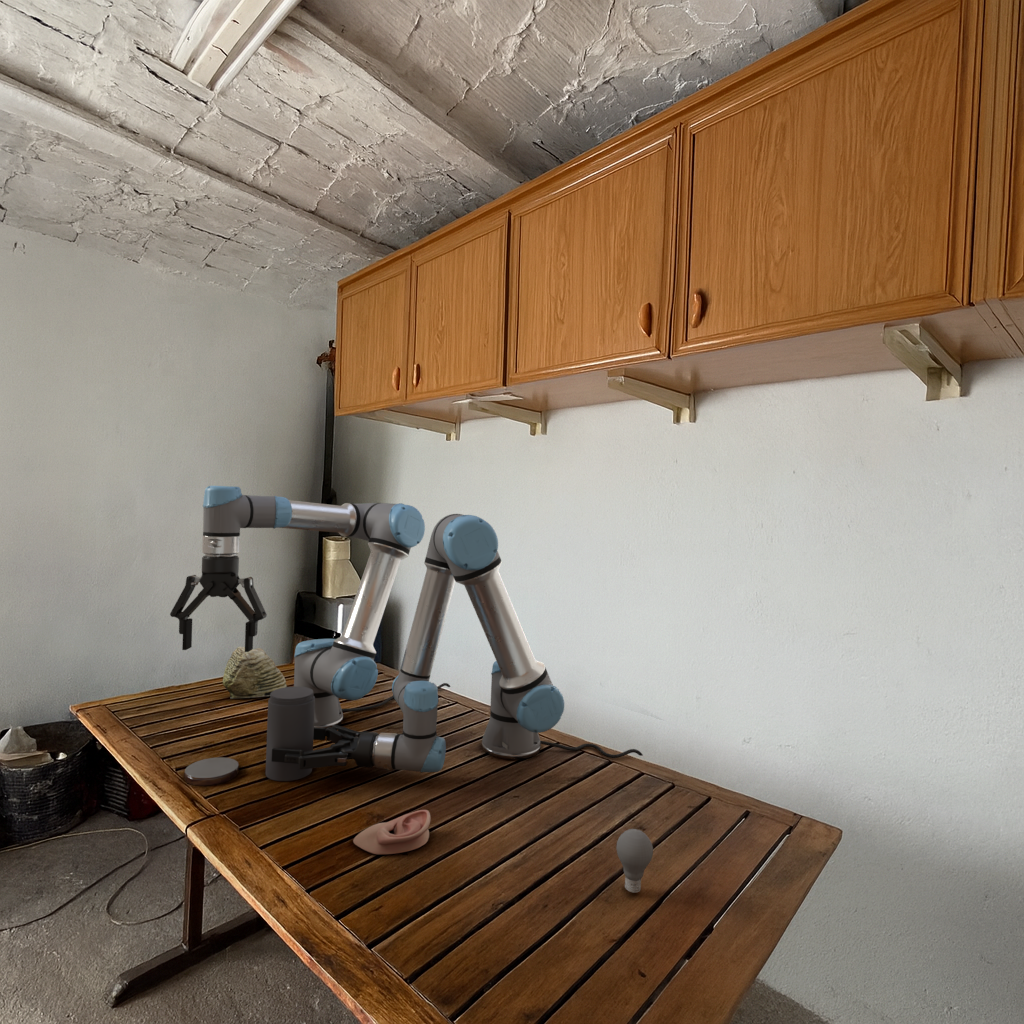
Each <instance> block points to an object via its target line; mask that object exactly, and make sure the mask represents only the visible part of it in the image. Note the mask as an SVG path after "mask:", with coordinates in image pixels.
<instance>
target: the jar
mask: <svg viewBox="0 0 1024 1024" xmlns="http://www.w3.org/2000/svg"><path fill="white" fill-rule="evenodd" d="M314 710H315V696H314V693H313V690H312V689H310V688H306V687H294V686H287V687H284V688H279V689H276V690H274V691H272V692H271V693H270V696H269V698H268V700H267V723H266V724H267V725H266V746H265V747H266V748H265V749H266V751H265V776H266V778H267V779H269V780H272V781H276V782H292V781H296V780H301V779H303V778H306V777H307V776H310V774H311V773H313V768H310V769H299V764H296V763H284V762H272V749H273V748H282V749H294V750H301V749H302V750H303V751H304V752H307V751H312V750H314V740H313V736H314ZM305 761H306V760H305Z"/></svg>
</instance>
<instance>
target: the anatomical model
mask: <svg viewBox="0 0 1024 1024" xmlns="http://www.w3.org/2000/svg"><path fill="white" fill-rule="evenodd" d="M430 824H431V813H430V811H429V810H428V809H420V810H419V809H418V810H416V811H412V812H409V813H405V814H403V815H401V816H398V817H396V818H394V819H391V820H389V821H385V822H378V823H375V824H373V825H370V826H369V827H367V828H365V829H364V830H362V831H360V832H359V833H358V834H357V835H355V837H354V838H353V839H352V842H353V844H354V845H355V846H356V847H358V848H360V849H362V850H363V851H365V852H368V853H369V854H374V855H378V856H379V855H393V854H400V853H402V854H403V853H406V852H410V851H413V850H417V849H419V848H421V847H422V846H424V845H426V844H427V842H428V841H429V838H430V830H429V827H430Z"/></svg>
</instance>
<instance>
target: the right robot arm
mask: <svg viewBox="0 0 1024 1024" xmlns="http://www.w3.org/2000/svg"><path fill="white" fill-rule="evenodd" d="M429 538H430V539H429V542H428V546H427V551H426V553H425V558H424V562H423V563H424V565H425V567H426V570H425V571H426V572H425V575H424V579H423V583H422V587H421V590H420V593H419V598H418V601H417V605H416V608H415V612H414V616H413V620H412V623H411V627H410V631H409V635H408V638H407V643H406V646H405V650H404V654H403V657H402V662H401V666H400V669H399V672H398V675H397V676H396V677H395V678H394V680H393V681H392V685H391V692H392V696H393V697H394V698H393V700H395V702H396V703H397V705H398V706H399V708H400V710H401V712H402V714H403V715H402V716H403V717H402V718H403V720H402V734H401V733H393V732H380V733H378V732H377V731H358V730H355V729H351V728H348V727H345V726H342V725H339V726H338V725H332V727H328V728H327V729H326V728H318V727H314V736H313V741H326V742H332V744H331V745H330V746H329V747H323V748H318V749H313V750H312V751H307V752H304V751H303V750H302V749H301V750H294V749H282V748H273V749H272V762H284V763H296V764H299V769H310V768H312V769H319V768H328V767H345V766H347V764H348V763H347V762H348V761H349V760H354V761H355V764H356V766H357V767H360V768H370V769H372V768H374V767H375V769H376V768H377V769H385V770H386V771H391V770H399V771H400V770H401V771H409V772H419V773H439V772H440V771H441V770H442V769H443V767H444V765H445V760H446V754H447V753H446V752H447V745H446V744H447V741H446V739H445V738H444V737H441V736H438V735H437V725H438V724H437V723H438V708H439V707H438V705H439V689H438V688H437V687H438V686H437V684H436V683H434V682H431V681H430V678H431V674H432V670H433V667H434V662H435V661H436V660H435V659H436V655H437V652H438V648H439V644H440V641H441V637H442V633H443V629H444V626H445V622H446V618H447V615H448V611H449V608H450V604H451V600H452V596H453V593H454V588H455V585H456V583H457V584H460V585H462V586H463V587H464V589H465V590H466V593H467V595H468V598H469V601H470V602H471V604H472V607H473V609H474V612H475V615H476V616H477V619H478V621H479V623H480V625H481V628H482V630H483V634H484V635H485V637H486V641H487V642H488V645H489V647H490V649H491V651H492V654H493V656H494V659H495V661H494V662H493V663H492V669H491V672H490V675H491V686H490V707H489V708H490V713H489V720H488V722H487V725H486V728H485V730H484V733H483V736H482V740H481V749H482V750H483V752H484V753H486V754H487V755H489V756H491V757H494V758H498V759H504V760H526V759H529V758H532V757H535V756H537V755H538V754H539V753H540V752H541V745H545V746H549V747H554V748H558V749H562V750H566V751H570V752H576V751H580V750H583V749H584V748H593V749H595V750H596V751H598V752H599V753H600V754H601V755H603V756H604V757H606V758H609V759H619V758H623V757H625V756H628V755H630V754H632V753H633V754H634V753H635V754H636V755H638V756H640V757H643V756H644V754H643V753H642V752H641V751H640V750H638V749H636V748H631V749H627V750H625V751H623V752H621V753H617V754H613V753H612V754H611V753H607V752H606V751H605V750H603V749H602V748H601V747H600V746H599V745H596V744H594V743H583V744H580V745H578V746H574V747H572V746H566V745H563V744H559V743H555V742H550V741H546V740H541V738H540V733H541V734H542V733H545V732H547V731H549V730H552V729H553V728H554V727H556V725H557V724H558V723H559V722H560V720H561V719H562V716H563V714H564V711H565V699H564V695H563V694H562V692H561V691H560V689H559V688H558V687H557V686H555V685H554V684H553V682H552V680H551V677H550V675H549V673H548V670H547V667H546V665H545V663H544V662H542V661H540V660H537V659H536V658H535V655H534V653H533V651H532V648H531V646H530V644H529V641H528V638H527V636H526V634H525V632H524V629H523V627H522V624H521V621H520V620H519V619H520V618H519V617H518V614H517V612H516V609H515V606H514V605H513V602H512V599H511V597H510V594H509V592H508V590H507V588H506V585H505V583H504V580H503V578H502V576H501V574H500V573H501V572H500V568H501V566H502V563H503V560H502V558H501V556H500V553H499V551H498V550H499V538H498V535H497V533H496V531H495V529H494V527H493V526H492V525H491V524H490V523H489V522H488V521H486V520H485V519H483V518H482V517H479V516H477V515H474V514H462V513H451V514H447V515H445V516H443V517H442V518H440V519H439V520H438V522H437V523H436V524H435V526H433V529H432V532H431V534H430V537H429ZM305 760H306V761H305Z"/></svg>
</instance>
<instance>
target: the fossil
mask: <svg viewBox="0 0 1024 1024" xmlns="http://www.w3.org/2000/svg"><path fill="white" fill-rule="evenodd" d="M222 676H223V677H222V685H223V687H224V688H225V690H226V691H228V693H229V698H230V699H250V698H264V697H270V693H271V692H272V691H274V690H276V689H279V688H284V687H288V686H287V680H286V678H285V676H284V674H283V673H282V672H281V669H279V668H278V667H277V665H276V663H275V662H274V660H273V659H272V658H271V657H270V656H269V655H268V654H267V653H266V652H265V650H264V649H263V648H260V647H258V648H253V649H252V650H251V651H249V652H245V646H238V647H237V648H236V649H235V650H233V651H232V653H231V656H230V657H229V659H228V660H227V663H226V666H225V668H224V671H223V675H222Z"/></svg>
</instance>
